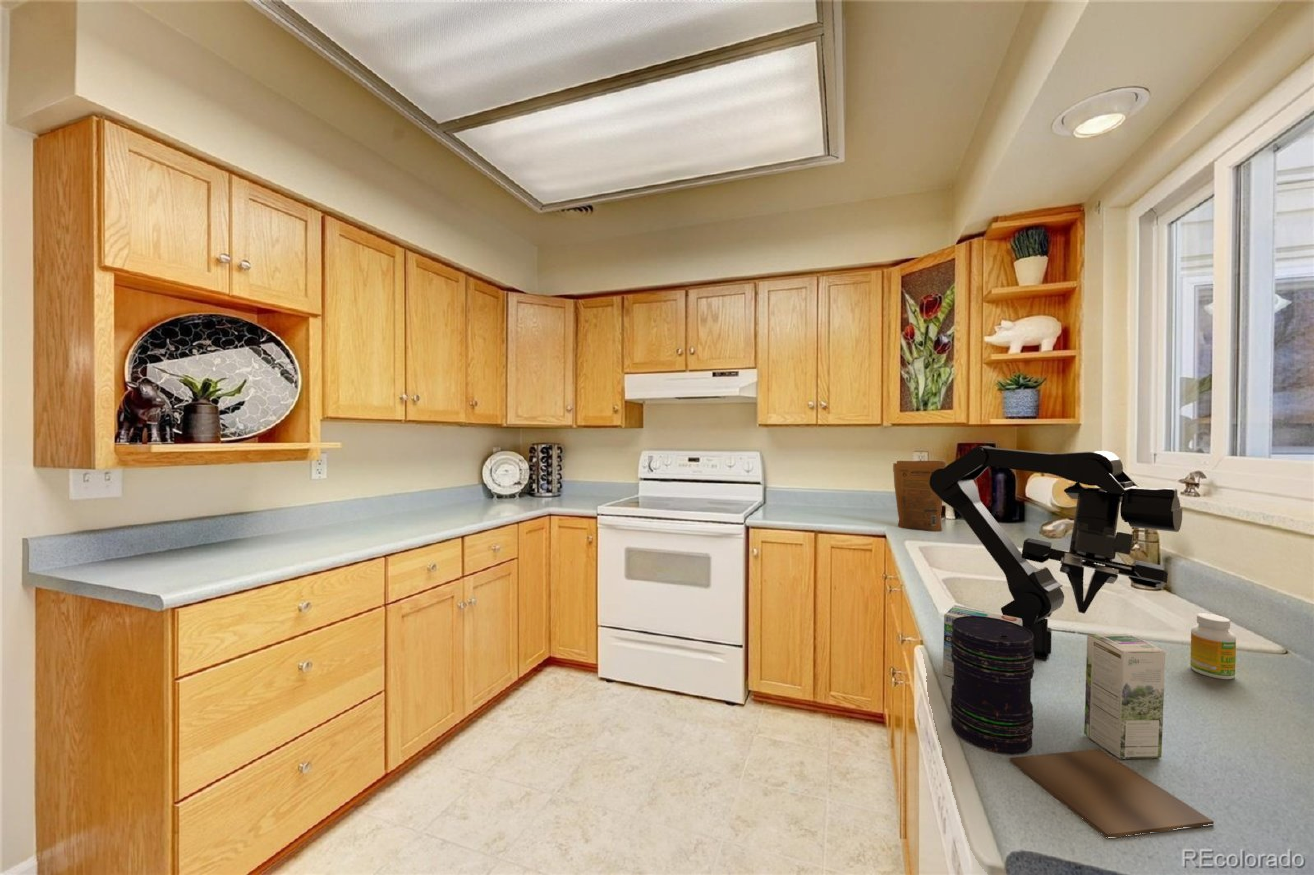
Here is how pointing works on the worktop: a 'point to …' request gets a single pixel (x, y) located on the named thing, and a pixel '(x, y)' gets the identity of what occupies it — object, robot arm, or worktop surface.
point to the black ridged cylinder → (992, 684)
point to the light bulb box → (948, 618)
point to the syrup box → (1124, 695)
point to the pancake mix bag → (917, 495)
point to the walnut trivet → (1108, 793)
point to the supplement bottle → (1213, 647)
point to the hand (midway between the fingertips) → (1081, 612)
